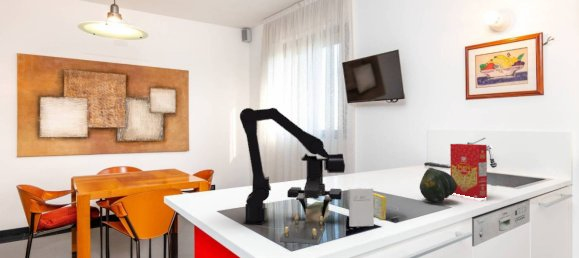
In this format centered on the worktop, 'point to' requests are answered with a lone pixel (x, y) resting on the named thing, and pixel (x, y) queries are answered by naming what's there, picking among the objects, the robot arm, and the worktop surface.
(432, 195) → the squash
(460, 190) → the food packaging
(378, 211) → the candy box
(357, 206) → the external hard drive
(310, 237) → the plate
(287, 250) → the worktop surface
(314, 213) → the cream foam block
